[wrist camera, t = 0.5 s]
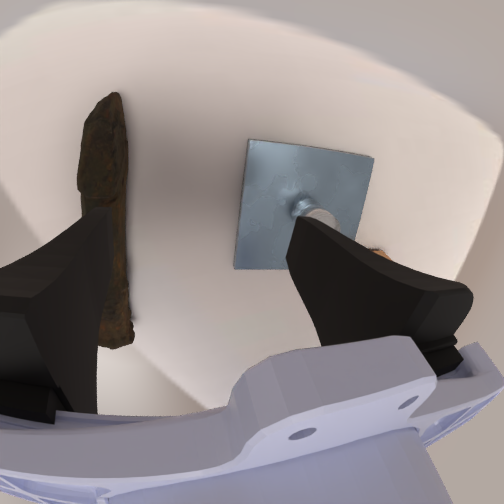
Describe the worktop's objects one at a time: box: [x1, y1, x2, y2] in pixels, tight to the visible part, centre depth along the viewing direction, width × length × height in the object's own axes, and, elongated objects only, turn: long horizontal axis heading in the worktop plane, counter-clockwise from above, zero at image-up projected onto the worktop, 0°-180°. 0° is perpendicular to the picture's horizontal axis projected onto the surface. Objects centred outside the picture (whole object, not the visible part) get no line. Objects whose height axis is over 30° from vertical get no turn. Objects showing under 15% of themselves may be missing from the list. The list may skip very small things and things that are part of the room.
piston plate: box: [233, 139, 374, 269], centre depth 22 cm, size 10×10×4 cm
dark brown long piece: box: [77, 92, 135, 349], centre depth 19 cm, size 19×4×5 cm, turn 167°
